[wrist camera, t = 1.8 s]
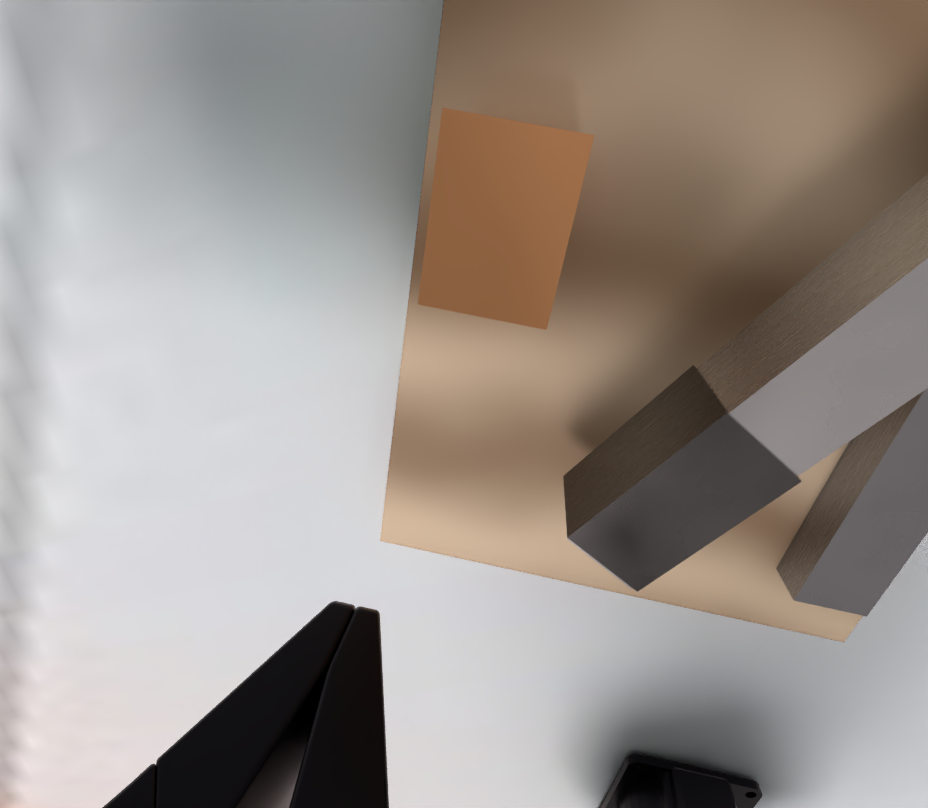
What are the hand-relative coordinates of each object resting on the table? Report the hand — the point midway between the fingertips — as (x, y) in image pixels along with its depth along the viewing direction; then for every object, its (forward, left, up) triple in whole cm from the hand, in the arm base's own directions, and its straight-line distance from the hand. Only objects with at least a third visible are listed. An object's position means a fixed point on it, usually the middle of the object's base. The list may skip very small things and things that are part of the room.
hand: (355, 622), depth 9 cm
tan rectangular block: (+6, -1, -10) cm, 11 cm away
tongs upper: (+5, -9, -8) cm, 13 cm away
